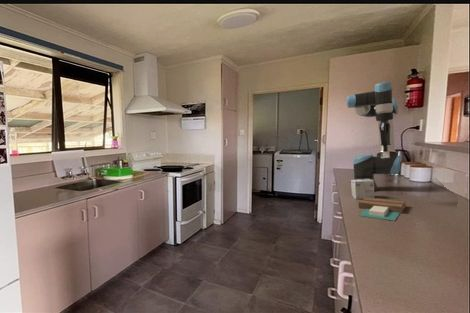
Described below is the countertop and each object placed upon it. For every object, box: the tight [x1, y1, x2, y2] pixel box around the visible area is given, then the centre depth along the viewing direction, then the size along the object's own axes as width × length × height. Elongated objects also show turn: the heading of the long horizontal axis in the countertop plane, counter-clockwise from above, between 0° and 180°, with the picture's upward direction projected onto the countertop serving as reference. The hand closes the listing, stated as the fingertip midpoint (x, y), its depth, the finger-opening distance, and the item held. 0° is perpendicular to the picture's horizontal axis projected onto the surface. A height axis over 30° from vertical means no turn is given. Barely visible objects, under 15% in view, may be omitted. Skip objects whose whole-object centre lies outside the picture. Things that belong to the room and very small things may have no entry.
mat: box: [358, 209, 401, 222], centre depth 108 cm, size 12×14×1 cm
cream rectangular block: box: [369, 206, 389, 217], centre depth 109 cm, size 9×6×2 cm, turn 136°
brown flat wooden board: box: [358, 197, 407, 214], centre depth 117 cm, size 12×18×3 cm, turn 46°
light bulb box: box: [350, 179, 376, 200], centre depth 138 cm, size 11×7×11 cm, turn 84°
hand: (386, 157), depth 123 cm, fingers closed
